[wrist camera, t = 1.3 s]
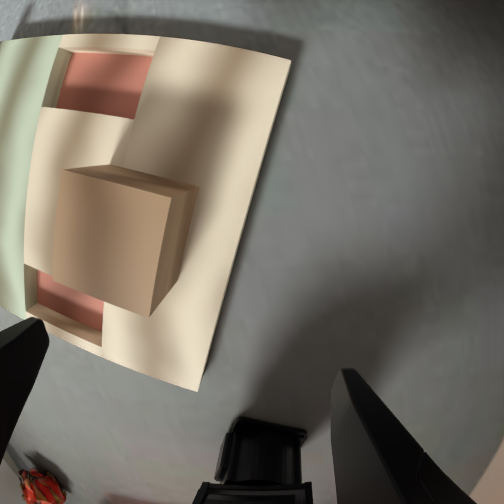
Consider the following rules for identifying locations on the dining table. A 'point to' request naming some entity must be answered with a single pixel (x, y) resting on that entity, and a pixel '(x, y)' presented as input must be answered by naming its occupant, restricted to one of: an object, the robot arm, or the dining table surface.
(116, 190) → the walnut block
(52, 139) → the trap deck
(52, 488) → the dragon fruit
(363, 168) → the dining table surface
